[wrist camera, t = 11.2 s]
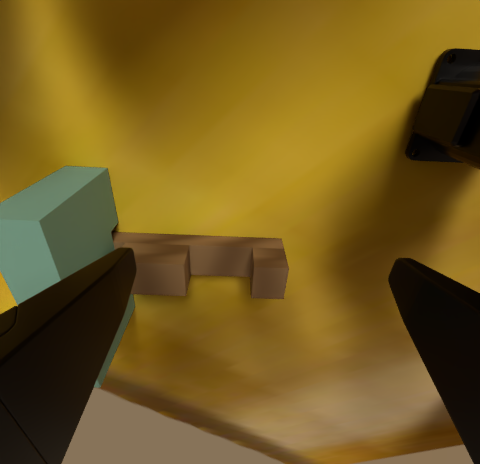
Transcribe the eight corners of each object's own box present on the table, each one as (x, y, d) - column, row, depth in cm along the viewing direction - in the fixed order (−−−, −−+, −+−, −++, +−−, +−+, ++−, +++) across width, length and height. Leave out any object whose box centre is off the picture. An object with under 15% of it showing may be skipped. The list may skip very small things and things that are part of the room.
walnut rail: (281, 238, 23) (288, 268, 20) (277, 266, 25) (283, 299, 21) (38, 229, 22) (3, 258, 19) (50, 258, 24) (18, 290, 21)
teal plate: (65, 165, 20) (-27, 218, 13) (107, 168, 20) (38, 220, 13) (104, 305, 27) (58, 386, 20) (135, 306, 27) (100, 387, 20)
